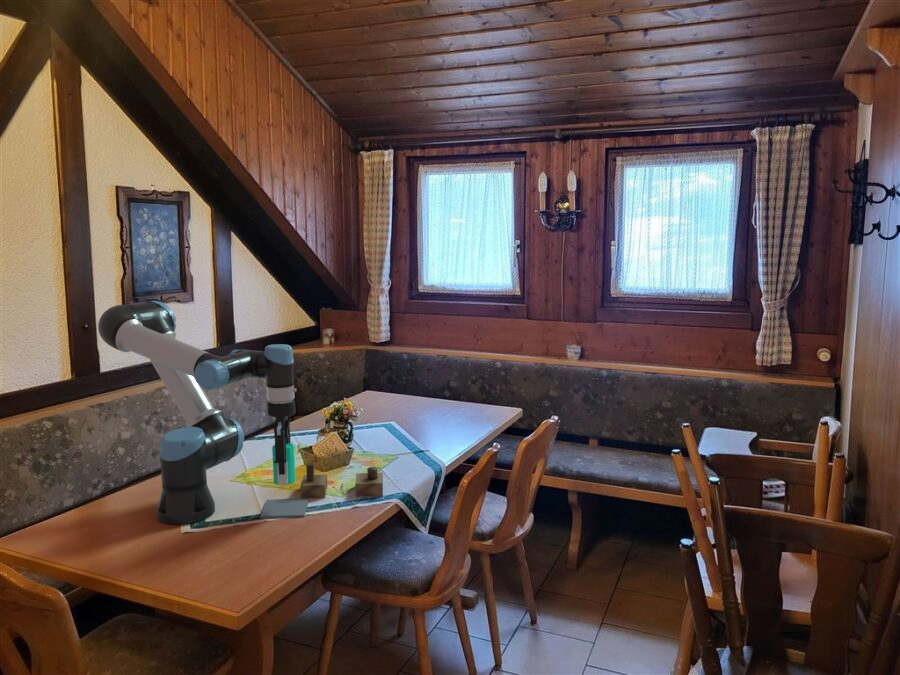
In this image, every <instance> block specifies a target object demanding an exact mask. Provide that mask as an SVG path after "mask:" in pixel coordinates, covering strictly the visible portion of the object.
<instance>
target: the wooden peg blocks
mask: <svg viewBox="0 0 900 675" xmlns="http://www.w3.org/2000/svg"><path fill="white" fill-rule="evenodd" d="M305 467H306V474H304V475H303V477H302V480H301V482H300V499H305V498H309V499H325V498H326V494H327V491H326V490H328V473H327V474H326V473H325V474H324V473H322V474H315V463H314V462H307V463H306V465H305ZM366 470H367V472H366V473H359V472H358V473H356V474H355V484H354V485H355V489H354V490H355V498H362V497H365V498H367V497H383V495H384V494H383V493H384V492H383V490H384V488H383V487H384V481H383V480H384V478H383V476H384V474H383V473H384V472H378V467H376V466H370V467H368V468H367V469H366Z"/></svg>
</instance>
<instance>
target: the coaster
mask: <svg viewBox="0 0 900 675" xmlns="http://www.w3.org/2000/svg"><path fill="white" fill-rule="evenodd" d="M309 502H310V498H305V499H301V498H282V499H280V498H279V499H277V498H276V499H275V498H274V499H266V501H265V503H264V506H263V508H262V511H261V513H260V515H259V519H279V518H280V519H282V518H283V519H284V518H287V519H288V518H304V517H306V516H305V515H306V512H307V508H308V506H309Z"/></svg>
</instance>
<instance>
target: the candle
mask: <svg viewBox="0 0 900 675" xmlns="http://www.w3.org/2000/svg"><path fill="white" fill-rule="evenodd" d="M271 448H272V449H271V450H272V451H271V452H272V453H271V454H272V472H273V483H274V484H275V485H277V486H279V485H278V478H277V463H274V461H275V460H276V459H275V444H273V445H272V447H271ZM286 460H287V470H288V485H292V484H293V483H296V481H297V480H296V479H297V478H296V459H295V445H294V444H293V443H292V442H291V443H288V444H286Z"/></svg>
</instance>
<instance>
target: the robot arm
mask: <svg viewBox="0 0 900 675" xmlns="http://www.w3.org/2000/svg"><path fill="white" fill-rule="evenodd" d="M176 322H177V320H176V316H175V313H174V312H173V310H172V308H170V307H169V306H168V305H167V304H166V303H164V302H162V301H158V300H143V301H140V302H134V303H128V304H127V303H126V304H118V305H114V306H111V307H109V308H108V309H106V310H105V311H104V312H103V313H102V314H101V315H100V318H99V320H98V323H97V324H98V326H97V328H98V334H99V336H100V338H101V339H102V341H103V342H104V343H106V344H107V346H109V347H111V348H113V349H116V350H118V351H120V352H123V353H131V352H133V353H135V354H137V355H139V356H142V357H145V358H147V359H149V360H150V362H151V364H152V366H153V367H154V369H155V371H156V373H157V374H158V376H159V378H160V379H161V381H162V384H164V386H165V388H166V390H167V392H169V394H170V396H171V399H173V402H174V403H175V405H176V407H177V408H178V410H179V412H180V414H181V415H182V417H183V418H184V421H185V422H186V427H182V428H177V429H174V430H173V429H172V430H171V431H168V432H167V433H165V434H164V435H163V436H162V437H161V439H160V441H159V452H158V454H159V459H160V460H159V462H160V474H161V476H160V477H161V485H162V486H161V487H162V490H161V494H160V499H159V502H158V504H157V508H156V509H157V510H156V516H157V519H158V521H159V522H161V523H163V524H167V525H187V524H192V523H196V522H201V521H203V520H206V519H208V518H210V517H211V516H213V515H214V513H215V512H216V507H215V506H216V505H215V501H214V498H213V495H212V493H211V490H210V488H209V486H208V481H207V480H208V479H207V476H208V475H207V471H208V470H210V469H212V468H214V467H216V466H219V465H220V464H223V463H224V462H229V461H230V460H231V459H233V458H234V457H236V456H238V455H239V454H240V452H241V451H242V449H243V447H244V442H245V434H244V431H243V427H242V426H241V424H240V423H239V422H238V421H237V420H236V419H233V418H229V417H226V415H225V413H224V412H223V411H222V410H220V409H217V408H215V407H214V405H213V404H212V402H211V400H210V398H209V397H208V396H207V394H206V392H205V390H214V389H215V390H216V389H220V388H222V387H225V386H228V385H231V384H233V383H236V382H238V383H239V382H240V381H244V380H247V379H251V378H252V379H253V378H255V379H265V383H266V384H265V385H266V386H265V387H266V388H265V389H266V400H267V401H268V402H267V405H266V408H267V415H268V416H270V417H271V418H272V417H273V418H275V421H274V422H273V433H274V445H275V459H276V460H275V461H274V463H277V478H278V485H277V486H287V485H288V486H289V484H288V470H287V460H286V444H288V443H292V442H291V426H290V425H291V417H290V416H293V415H295V414H296V401H295V400H294V399H295V397H296V396H295V393H296V392H297V388H295V381H294V379H295V378H294V376H295V375H294V372H295V371H294V363H295V359H294V352H293V347H292V346H291V345H289V344H286V343H285V344H284V343H283V344H282V343H281V344H279V343H276V344H275V343H274V344H269V345H267V346H265V348H264V351H263V350H251V349H245V348H242V349H233V350H231V351H230V353H229V354H227V355H224V356H218V355H215V354H212V353H210V352H208V351H205V350H203V349H200V348H197V347H195V346H193V345H190V344H187V343H186V342H183V341H181V340H178V339H177V338H176V336H177V332H176V331H175V330H176V328H177V323H176Z"/></svg>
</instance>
